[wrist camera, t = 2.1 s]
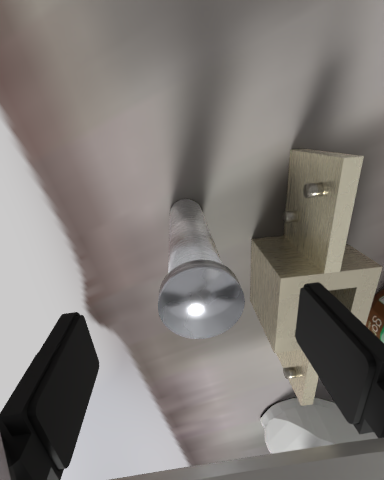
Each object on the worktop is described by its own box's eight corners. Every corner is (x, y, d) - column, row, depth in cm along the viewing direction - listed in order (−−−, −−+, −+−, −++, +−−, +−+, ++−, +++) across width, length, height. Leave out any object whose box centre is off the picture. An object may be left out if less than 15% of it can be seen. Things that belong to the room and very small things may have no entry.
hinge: (253, 153, 20) (290, 163, 14) (340, 145, 21) (415, 151, 14) (249, 351, 30) (269, 410, 24) (308, 344, 30) (343, 400, 24)
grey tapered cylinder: (162, 196, 21) (151, 274, 10) (205, 192, 21) (244, 264, 10) (168, 235, 23) (164, 343, 11) (207, 231, 23) (244, 333, 11)
